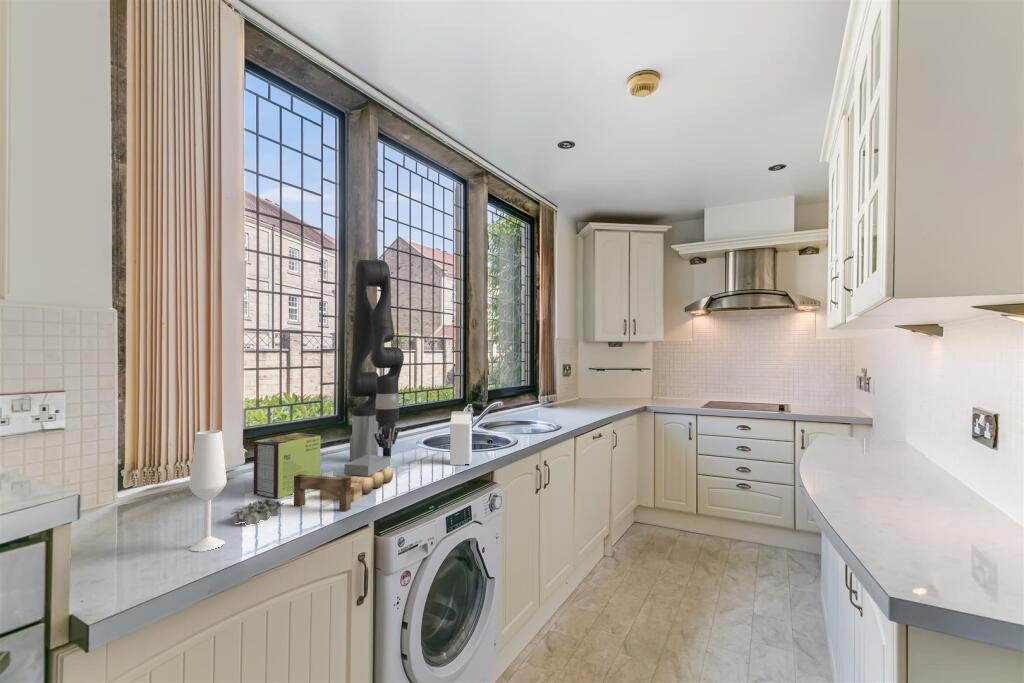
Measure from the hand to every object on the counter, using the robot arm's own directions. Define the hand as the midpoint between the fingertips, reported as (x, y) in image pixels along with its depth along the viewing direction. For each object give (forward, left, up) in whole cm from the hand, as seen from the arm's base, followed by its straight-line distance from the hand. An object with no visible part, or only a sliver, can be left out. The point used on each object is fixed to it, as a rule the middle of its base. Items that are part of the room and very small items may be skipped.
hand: (386, 458), depth 160 cm
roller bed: (0, -14, -5) cm, 15 cm away
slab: (0, -12, -1) cm, 12 cm away
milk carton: (+18, +22, -6) cm, 29 cm away
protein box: (-20, -23, -6) cm, 31 cm away
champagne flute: (-8, -62, -6) cm, 62 cm away
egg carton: (-11, -45, -6) cm, 47 cm away
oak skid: (0, -26, -6) cm, 26 cm away
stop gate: (0, -34, -5) cm, 35 cm away
